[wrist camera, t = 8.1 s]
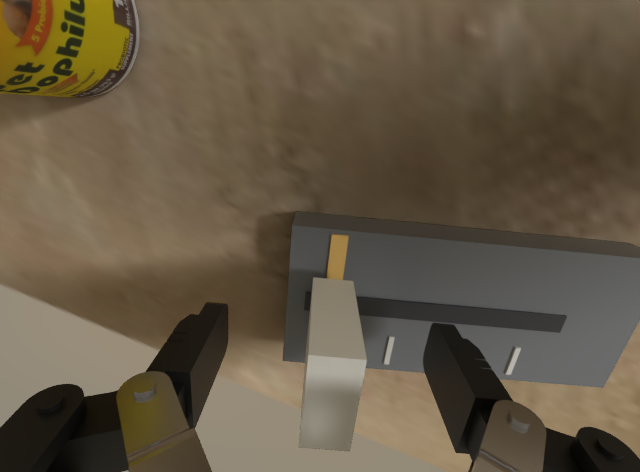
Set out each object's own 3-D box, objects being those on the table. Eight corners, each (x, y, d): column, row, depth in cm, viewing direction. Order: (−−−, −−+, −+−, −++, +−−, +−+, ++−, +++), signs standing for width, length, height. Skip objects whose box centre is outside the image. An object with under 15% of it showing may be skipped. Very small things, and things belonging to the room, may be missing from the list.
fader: (313, 269, 14) (308, 354, 9) (351, 272, 14) (367, 360, 9) (306, 339, 15) (298, 447, 10) (341, 342, 15) (349, 451, 10)
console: (295, 211, 15) (291, 226, 13) (629, 243, 16) (673, 262, 14) (287, 334, 18) (282, 362, 16) (574, 359, 18) (604, 389, 16)
